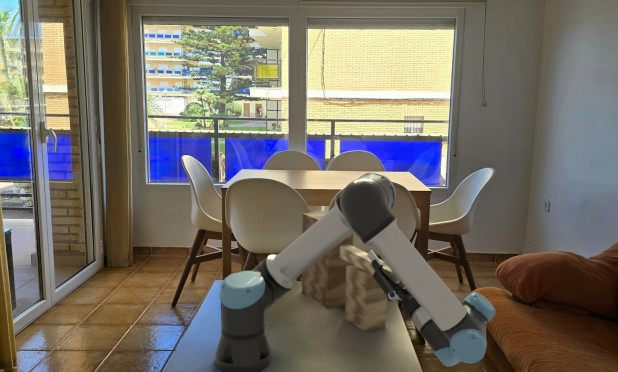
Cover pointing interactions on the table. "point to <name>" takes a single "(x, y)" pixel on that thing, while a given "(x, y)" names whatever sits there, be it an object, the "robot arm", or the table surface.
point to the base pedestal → (364, 300)
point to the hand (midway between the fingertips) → (377, 251)
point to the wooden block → (361, 260)
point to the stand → (326, 271)
